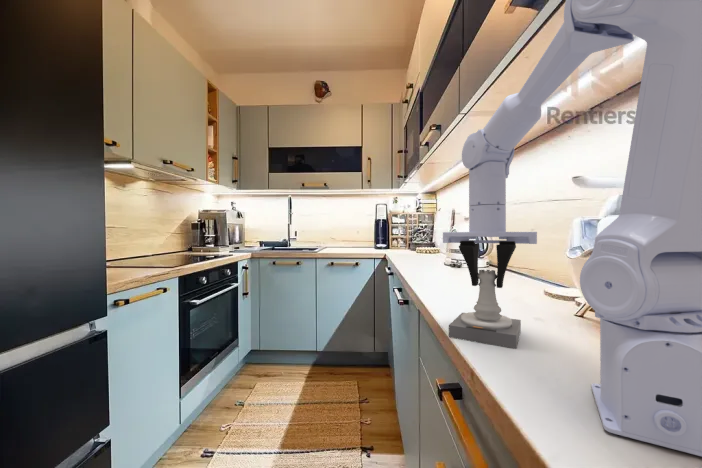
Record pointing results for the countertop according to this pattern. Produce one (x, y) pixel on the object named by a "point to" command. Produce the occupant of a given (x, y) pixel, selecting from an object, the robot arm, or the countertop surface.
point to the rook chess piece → (487, 297)
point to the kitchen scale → (486, 330)
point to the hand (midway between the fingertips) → (487, 286)
